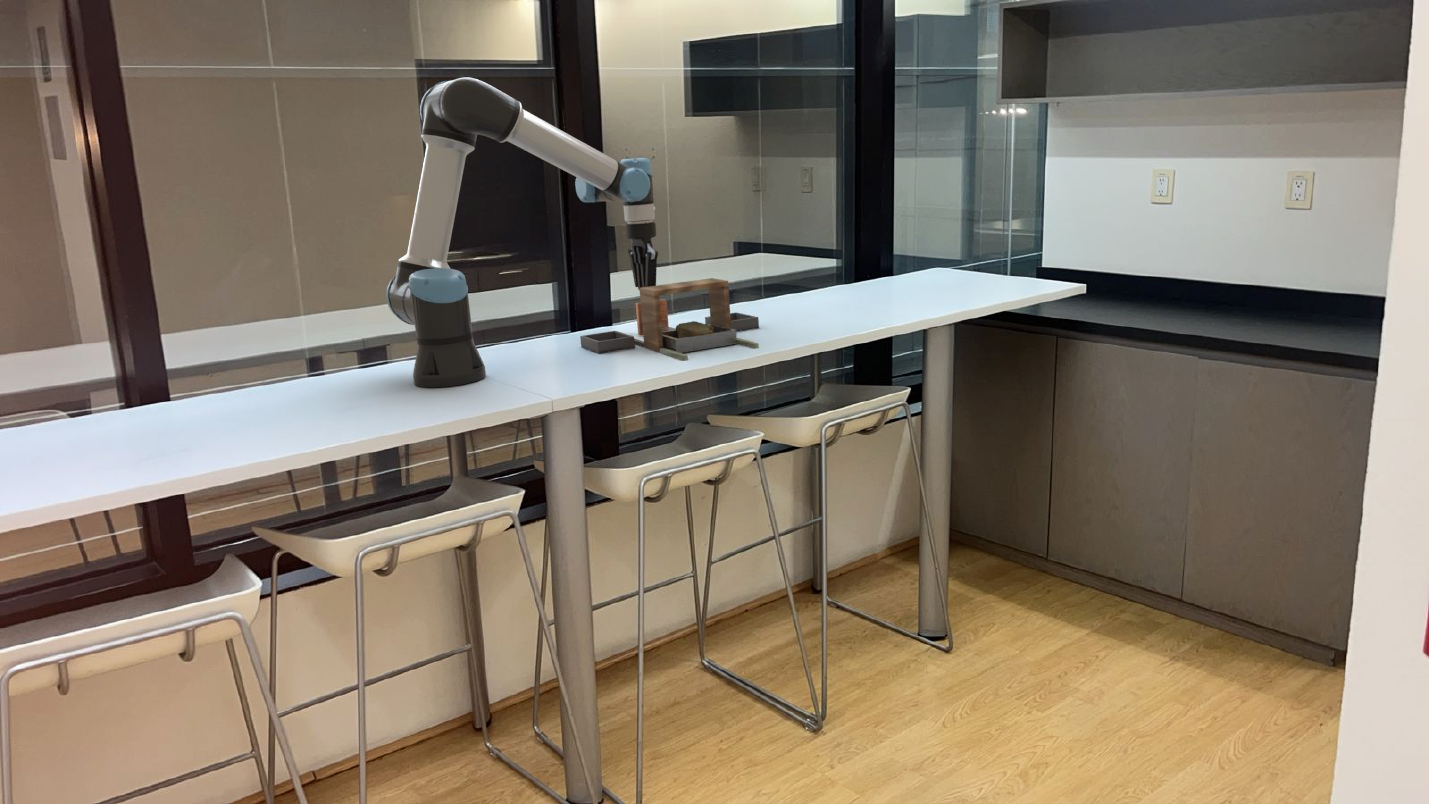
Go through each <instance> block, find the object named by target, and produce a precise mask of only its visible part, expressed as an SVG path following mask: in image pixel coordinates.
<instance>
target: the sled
mask: <svg viewBox="0 0 1429 804" xmlns="http://www.w3.org/2000/svg"><path fill="white" fill-rule="evenodd" d="M659 300H660V313H661V325H662V338H663V348H666V349H670V350H673V351H676V352H679V353H682V354H684V353H688V352H693V351H700V350H701V351H702V350H706V349H712V348H719V347H724V346H730V345H736V344H737V338H738V337H737V332H736V330H734V329H730V328H726V327H722V326H718V325H714V324H709V326H712V327H713V328H714V333H712V334H706V335H697V336H690V337H684V338H678V339H677V336H676V327H672V326H669V317H668V316H669V315H668V302H667V299H665V298H662V299H659ZM635 313H636V324H637V326H636V328H637V335H638V336H643V325H642V313H641V301H640V302H635ZM737 345H738V344H737Z"/></svg>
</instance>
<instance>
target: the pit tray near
mask: <svg viewBox="0 0 1429 804" xmlns="http://www.w3.org/2000/svg"><path fill="white" fill-rule="evenodd" d="M579 337H580V346H581V347H580V348H582V349H585V350H588V351H590V352H593V353H595V354H598V355H601V354H606V353H613V352H614V353H615V352H620V351H626V350H632V349H636V345H635V342H634V338H635V336H633V335H631V334H627V333H624V332H621V331H619V330H618V331H617V330H611V331H603V332H598V333H592V334H591V333H590V334H586V335H585V334H584V335H579Z"/></svg>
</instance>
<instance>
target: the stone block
mask: <svg viewBox="0 0 1429 804" xmlns="http://www.w3.org/2000/svg"><path fill="white" fill-rule="evenodd" d="M675 329H676V336H677V339H678V338H684V337H690V336H697V335H706V334H712V333H714V328H713V327H712V326H709V325H707V324H705V323H703V322H698V321H697V320H696V321H693V320H692V321H688V322H682V323H678V324H677V325H676V326H675Z"/></svg>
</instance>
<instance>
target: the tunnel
mask: <svg viewBox="0 0 1429 804" xmlns="http://www.w3.org/2000/svg"><path fill="white" fill-rule="evenodd" d="M729 287H730V286H729V280H725V279H718V278H713V277H711V278H703V279H697V280H688V281H687V280H686V281H680V282H673V283H666V284H656V286H650V287H642V288H639V289H640V290H639V289H638V290H639V298H640V302H641V313H642V325H643V335H642V337H643V340H641V339H637V338H635V337H634V342H635V346H637V347H639V348H640V347H641V348H644V349H646V350H650V351H653V352H657V353H659V354H662V355H666V356H667V357H671V358H675V359H677V360H680V361H688V360H689V355H688V354H685V353H679V352H676V351H673V350H670V349H666V348H663V338H662V325H661V313H660V300H661V299H660V296H665V295H673V294H679V293H681V294H682V293H687V292H695V291H701V290H707V291H708V300H709V301H708V302H709V303H708V304H709V315H710V320H711V324H714V325H718V326H722V327H726V328H730V329H731V318H730V313H731V307H730V306H731V303H730V288H729ZM737 345H740V346H743V347H748V348H751V349H758V348H759V343H758V342H755V341H751V340H747V339H743V338H740V337H739V338H738V337H737Z"/></svg>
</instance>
